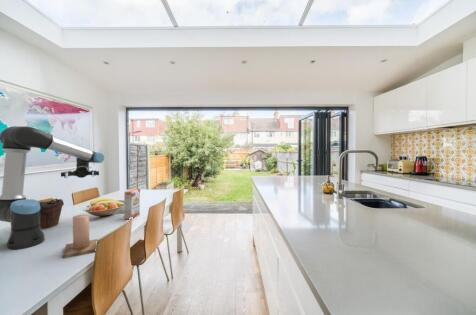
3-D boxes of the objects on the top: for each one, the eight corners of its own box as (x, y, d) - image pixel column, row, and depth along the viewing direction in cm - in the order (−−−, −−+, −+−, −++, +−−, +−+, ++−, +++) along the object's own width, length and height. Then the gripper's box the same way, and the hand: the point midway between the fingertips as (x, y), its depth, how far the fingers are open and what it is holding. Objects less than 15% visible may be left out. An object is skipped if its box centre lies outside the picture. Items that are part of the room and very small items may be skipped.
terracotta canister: (72, 250, 112) (72, 219, 112) (73, 245, 118) (73, 215, 118) (89, 247, 116) (88, 217, 115) (89, 242, 122) (89, 213, 121)
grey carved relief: (139, 212, 184) (138, 204, 184) (104, 216, 175) (104, 208, 175) (139, 209, 199) (139, 201, 199) (107, 213, 189) (107, 205, 189)
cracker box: (131, 219, 166) (131, 191, 165) (123, 219, 166) (123, 191, 165) (140, 214, 180) (140, 188, 179) (133, 214, 180) (133, 188, 179)
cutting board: (62, 258, 108) (62, 255, 108) (66, 247, 119) (66, 244, 119) (97, 251, 115) (97, 248, 115) (97, 241, 127) (97, 239, 127)
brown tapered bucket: (71, 221, 159) (70, 196, 159) (44, 231, 140) (43, 203, 139) (48, 220, 161) (48, 195, 160) (19, 230, 141) (18, 202, 141)
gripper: (102, 176, 163) (103, 180, 145) (59, 178, 150) (54, 182, 132) (102, 166, 163) (103, 168, 145) (59, 166, 149) (53, 169, 131)
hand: (79, 175), depth 138 cm, fingers open, 13 cm apart
